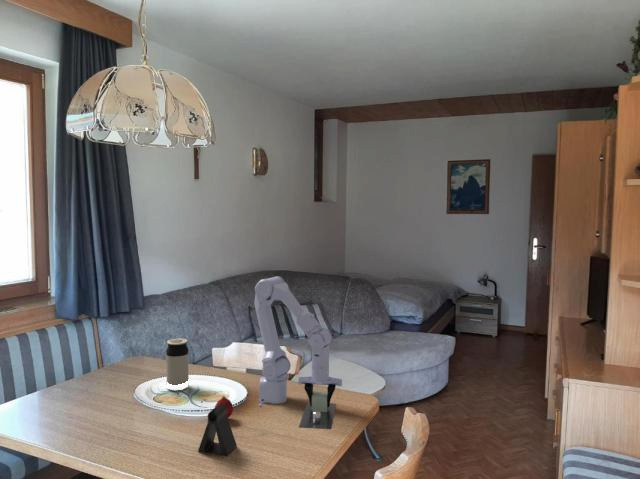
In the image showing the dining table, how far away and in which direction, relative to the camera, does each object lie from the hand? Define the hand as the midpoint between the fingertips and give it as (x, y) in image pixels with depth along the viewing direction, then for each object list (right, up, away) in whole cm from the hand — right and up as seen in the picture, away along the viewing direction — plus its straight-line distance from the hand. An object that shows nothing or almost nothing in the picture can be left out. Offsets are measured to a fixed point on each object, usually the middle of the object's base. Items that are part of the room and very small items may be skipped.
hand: (320, 405), depth 165 cm
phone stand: (-29, -4, -26) cm, 39 cm away
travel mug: (-54, -1, +22) cm, 58 cm away
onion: (-31, -3, -7) cm, 32 cm away
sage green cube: (0, -1, 0) cm, 1 cm away
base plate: (-1, -3, -5) cm, 5 cm away
